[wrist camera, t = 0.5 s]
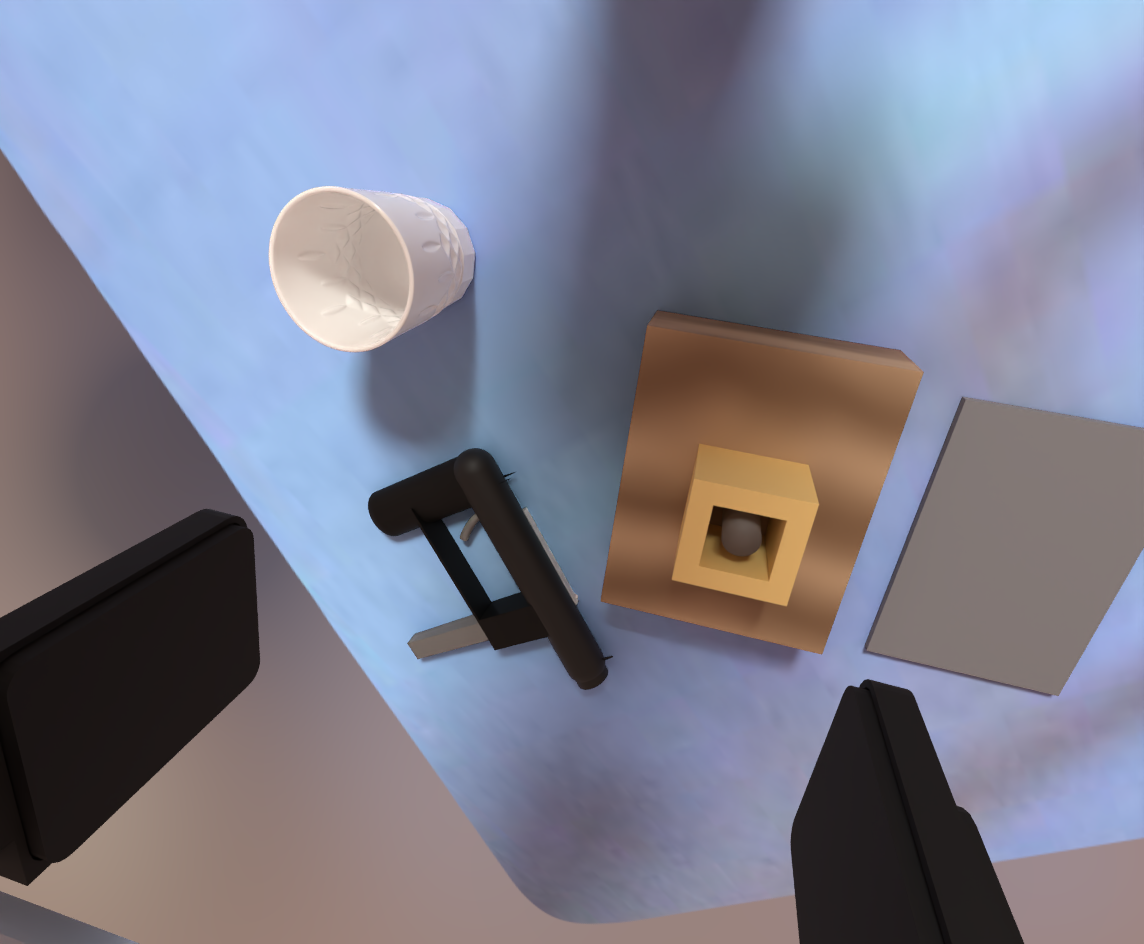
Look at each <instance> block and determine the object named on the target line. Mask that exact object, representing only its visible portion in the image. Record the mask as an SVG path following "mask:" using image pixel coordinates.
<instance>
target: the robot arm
mask: <svg viewBox="0 0 1144 944" xmlns="http://www.w3.org/2000/svg"><path fill="white" fill-rule="evenodd" d="M259 652H260V651H259V632H258V613H257V594H256V576H255V555H254V538H253V533H252V532H251V530H250V529H248V528H247V525H246V523H245V521H244V519H242V518H241V517H238V516H234V515H231V514H226V513H223V512H219V511H215V510H211V509H203V510H200V511H198V512H196V513H194V514H192V515H191V516H189V517H187V518H185V519H183V520H181V521H179V522H177V523H176V524H174V525H172V526H170V527H168V528H166V529H164V530H163V531H161V532H159V533H157V534H155V535H153V536H151V537H150V538H148V539H146V540H144V541H142V542H141V543H138V544H137V545H135V546H133V547H131V548H129V549H128V550H125V551H124V552H122V553H120V554H118V555H116V556H114V557H112V558H111V559H109V560H107V561H105V562H103V563H101V564H99V565H98V566H96V567H94V568H92V569H90V570H88V571H86V572H85V573H83V574H81V575H79V576H77V577H75V578H73V579H72V580H70V581H68V582H66V583H64V584H62V585H60V586H59V587H57V588H55V589H53V590H52V591H49V592H47V593H46V594H44V595H42V596H40V597H38V598H36V599H34V600H33V601H31V602H29V603H27V604H25V605H23V606H22V607H20V608H18V609H16V610H14V611H12V612H10V613H8V614H7V615H5V616H3V617H1V618H0V876H3V877H6V878H8V879H10V880H13V881H16V882H18V883H21V884H24V885H26V886H28V885H29V884H30V883H31V882H32V881H33V880H34V879H35V878H37V877H38V876H39V875H40V874H41V873H42V872H43V871H44V870H45V869H46V868H47V867H48V866H49V865H50V864H51V863H56V862H60V861H62V860H64V859H65V858H67V857H68V856H69V855H71V854H72V853H73V852H74V851H75V850H76V849H78V847H80V846H81V845H82V844H83V843H84V842H85V841H86V840H87V839H88V838H89V837H90V836H91V835H92V834H93V833H94V832H95V831H96V830H97V829H98V828H100V826H102V825H103V824H104V823H105V822H106V821H107V820H108V819H109V818H110V817H111V816H112V815H113V814H114V813H115V812H116V811H117V810H118V809H119V808H120V807H121V806H123V805H124V804H125V803H126V802H127V801H128V800H129V799H130V798H131V797H132V796H133V795H134V794H135V793H136V792H137V791H138V790H139V789H140V788H141V787H142V786H144V785H145V784H146V783H147V782H148V781H149V780H150V779H151V778H152V777H153V776H154V775H155V774H156V773H157V772H158V771H159V770H160V769H161V768H162V767H163V766H164V765H166V763H167V762H169V761H170V760H171V759H172V758H173V757H174V756H175V755H176V754H177V753H178V752H179V751H180V750H181V749H182V748H183V747H184V746H185V745H186V744H187V743H188V742H190V741H191V740H192V739H193V738H194V737H195V736H196V735H197V734H198V733H199V732H200V731H201V730H202V729H203V728H204V727H205V726H206V725H207V724H209V723H210V721H212V720H213V718H215V717H216V716H217V715H218V714H219V713H220V712H221V711H222V710H223V709H224V708H225V707H226V706H227V705H228V704H229V703H230V702H232V701H233V700H234V699H235V698H236V697H237V696H238V695H239V694H240V693H241V692H242V691H243V690H244V689H245V688H246V687H247V686H248V685H249V684H250V683H251V682H252V681H253V679H254V678H255V676H256V674H257V672H258V669H259V665H260V653H259ZM791 856H792V866H793V877H794V888H795V898H796V908H797V919H798V928H799V929H798V930H799V939H800V944H1024V942H1023V939H1022V937H1021V935H1020V932H1019V930H1018V927H1017V925H1016V922H1015V920H1014V918H1013V915H1012V912H1011V910H1010V907H1009V905H1008V903H1007V900H1006V898H1005V895H1004V893H1003V891H1002V888H1001V885H1000V883H999V880H998V878H997V875H996V873H995V871H994V868H993V866H992V863H991V861H990V858H989V856H988V853H987V851H986V848H985V846H984V843H983V841H982V838H981V836H980V834H979V831H978V829H977V826H976V824H975V822H974V821H973V819H972V817H971V815H970V814H969V813H968V812H967V811H966V810H965V809H964V808H962V807H959V806H956V803H955V801H954V798H953V796H952V793H951V790H950V788H949V785H948V783H947V780H946V777H945V775H944V772H943V770H942V767H941V765H940V762H939V759H938V757H937V754H936V752H935V749H934V746H933V744H932V741H931V739H930V736H929V733H928V731H927V728H926V726H925V723H924V720H923V718H922V715H921V713H920V710H919V708H918V705H917V702H916V700H915V697H914V695H913V694H912V692H911V691H909V690H908V689H904V688H900V687H896V686H892V685H888V684H884V683H881V682H877V681H873V680H869V679H867V680H864V681H863V682H862V683H861V685H860V687H859V688H858V687H854V686H848V687H847V688H846V690H845V692H844V694H843V696H842V699H841V701H840V704H839V706H838V709H837V711H836V714H835V717H834V719H833V722H832V724H831V727H830V729H829V732H828V734H827V737H826V740H825V742H824V745H823V747H822V750H821V752H820V755H819V757H818V760H817V762H816V765H815V768H814V770H813V773H812V775H811V778H810V780H809V783H808V785H807V788H806V791H805V793H804V796H803V798H802V801H801V803H800V806H799V808H798V811H797V813H796V816H795V819H794V822H793V826H792V832H791ZM0 944H139V943H136V942H134V941H131V940H128V939H126V938H123V937H120V936H118V935H115V934H112V933H110V932H107V931H105V930H102V929H99V928H97V927H94V926H91V925H89V924H86V923H83V922H81V921H78V920H75V919H72V918H70V917H67V916H65V915H62V914H59V913H57V912H54V911H51V910H49V909H46V908H44V907H41V906H38V905H36V904H33V903H30V902H28V901H25V900H22V899H20V898H17V897H14V896H11V895H9V894H6V893H4V892H1V891H0Z"/></svg>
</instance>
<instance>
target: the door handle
mask: <svg viewBox="0 0 1144 944" xmlns="http://www.w3.org/2000/svg"><path fill="white" fill-rule="evenodd" d="M514 473H515V472H514ZM511 474H513V473H511ZM511 474H507V475H504V476H503V474H502V472H501V471H500V469H499V467H498V465H497V463H496V462H495V460H494V458H493V457H492V456H491V455H490V454H489V453H488V452H486V451H485V450H482V449H477V448H473V449H468V450H466V451H464V452H462V453H461V454H460V455H459V456H458V457H456V458H454V459H451V460H449V461H447V462H444V463H442V464H439V465H437V466H435V467H432V468H430V469H428V470H425V471H423V472H421V473H418V474H416V475H414V476H411V477H409V478H407V479H404V480H402V481H400V482H397V483H395V484H393V485H390V486H388V487H386V488H383V489H381V490H379V491H376V492H374V493H373V494H372V495H371V496H370V498H369V501H368V510H369V514H370V517H371V519H372V521H373V522H374V524H375V525H376V526H377V527H378V529H380V530H381V531H382V532H383V533H385V534H387V535H390V536H398V535H401V534H403V533H406V532H409V531H411V530H414V529H417V528H419V527H420V528H421V530H422V532H423V533H424V535H425V536H426V538H427V540H428V541H429V543H430V545H431V546H432V548H433V550H434V551H435V553H436V554H437V556H438V558H439V559H440V561H441V563H442V564H443V566H444V568H445V569H446V571H447V572H448V574H449V576H450V577H451V579H452V581H453V582H454V584H455V586H456V587H457V589H458V590H459V592H460V594H461V595H462V597H463V599H464V600H465V602H466V604H467V605H468V607H469V608H470V610H471V612H472V613H473V615H471V616H468V617H464V618H461V619H458V620H455V621H452V622H449V623H446V624H443V625H440V626H437V627H434V628H431V629H428V630H425V631H422V632H419V633H416V634H414V636H413V637H412V638H411V639H410V641H409V642H408V643H407V644H408V645H409V647H410V648H411V650H412V651H413V653H414V654H415V656H416V657H417V659H420V658H424V657H428V656H432V655H435V654H439V653H443V652H447V651H450V650H454V649H458V648H462V647H465V646H469V645H473V644H477V643H480V642H484V641H488V640H489V641H490V643H491V645H492V646H493V648H494V650H498V649H502V648H506V647H510V646H513V645H517V644H521V643H525V642H529V641H533V640H537V639H541V638H545V637H548V639H549V641H550V643H551V644H552V646H553V648H554V650H555V651H556V653H557V655H558V656H559V658H560V660H561V662H562V663H563V665H564V667H565V668H566V670H567V672H568V674H569V675H570V676H571V678H572V679H574V680H575V681H576V682H577V684H578V686H579V687H580V688H581V689H584V690H588V689H592V688H594V687H596V686H598V685H599V684H601V683H602V682H603V681H604V680H605V679H606V677H607V675H608V669H607V668H606V666H605V660H607V659H610V658H612V657H613V656H609V657H605V658H604V655H603V653H602V651H601V650H600V648H599V646H598V644H597V642H596V641H595V639H594V637H593V635H592V634H591V632H590V630H589V628H588V626H587V625H586V623H585V621H584V619H583V617H582V616H581V614H580V612H579V610H578V608H577V607H576V605H577V604H578V595H577V594H575V593H574V592H573V590H572V588H571V586H570V584H569V583H568V581H567V579H566V577H565V575H564V574H563V572H562V570H561V568H560V566H559V565H558V563H557V561H556V559H555V557H554V556H553V554H552V552H551V550H550V549H549V547H548V545H547V543H546V541H545V540H544V538H543V536H542V534H541V532H540V531H539V529H538V527H537V525H536V523H535V522H534V520H533V518H532V516H531V514H530V513H529V511H528V509H527V507H526V508H523V509H522V508H521V506H520V505H519V503H518V501H517V499H516V497H515V496H514V494H513V492H512V490H511V489H510V487H509V485H508V483H507V480H509V479H507V480H505V478H504V477H507V476H509V475H511ZM469 508H472V509H473V510H474V512H475V514H474V515H473V516H472V517H471V518H470V519H469V520H468V522H467V523H466V525H465V526H464V528H463V530H462V532H461V535H460V539H461V540H463V541H468V539H469V537H470V534H471V532H472V530H473V528H474V527H475V525H476V524H477V523H478V521H480V522H481V524H482V526H483V527H484V529H485V531H486V533H487V534H488V536H489V538H490V539H491V541H492V543H493V545H494V546H495V548H496V550H497V552H498V553H499V555H500V557H501V558H502V560H503V562H504V564H505V565H506V567H507V569H508V570H509V572H510V574H511V576H512V577H513V579H514V581H515V582H516V584H517V586H518V588H519V589H520V591H521V592H520V593H517V594H514V595H511V596H508V597H504V598H501V599H498V600H495V601H492V602H491V601H490V599H489V597H488V596H487V594H486V592H485V591H484V589H483V587H482V586H481V584H480V582H479V581H478V579H477V577H476V576H475V574H474V572H473V570H472V569H471V567H470V565H469V564H468V562H467V560H466V559H465V557H464V555H463V554H462V552H461V550H460V549H459V547H458V545H457V544H456V542H455V540H454V539H453V537H452V535H451V534H450V532H449V530H448V529H447V527H446V525H445V524H444V522H443V520H442V519H443V518H445V517H448V516H451V515H453V514H456V513H459V512H461V511H464V510H466V509H469Z"/></svg>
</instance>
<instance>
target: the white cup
mask: <svg viewBox="0 0 1144 944" xmlns="http://www.w3.org/2000/svg"><path fill="white" fill-rule="evenodd" d="M474 262H475V251H474V248H473V245H472V242H471V239H470V236H469V232H468V229H467V227H466V226H465V225H464V224H463V223H462V222H461V220H460V219H459V218H458V217H457V216H456V215H455V214H454V212H453V211H452V210H451V209H450V208H448V207H446V206H444V205H441V204H439V203H437V202H435V201H433V200H430V199H428V198H419V197H413V196H409V195H404V194H398V193H391V192H384V191H374V190H363V189H353V188H344V187H334V186H323V187H316V188H312V189H309V190H307V191H304V192H302V193H301V194H299V195H297V196H296V197H294V198H293V199H292V200H291V201H290V202H289V203H288V204H287V205H286V206H285V207H284V208H283V210H282V211H281V212H280V214H279V216H278V218H277V220H276V222H275V224H274V227H273V230H272V233H271V237H270V244H269V265H270V272H271V277H272V281H273V284H274V287H275V290H276V292H277V295H278V297H279V299H280V301H281V303H282V305H283V307H284V308H285V310H286V311H287V313H288V314H289V316H290V317H291V318H292V319H293V321H294V322H295V323H296V324H297V325H298V326H299V327H300V328H301V329H302V330H303V331H304V332H305V333H306V334H308V335H309V336H310V337H312V338H313V339H314V340H316V341H318V342H319V343H321V344H323V345H325V346H328V347H330V348H333V349H336V350H340V351H345V352H363V351H369V350H372V349H375V348H377V347H380V346H382V345H383V344H385V343H387V342H389V341H391V340H393V339H394V338H396V337H398V336H400V335H402V334H404V333H406V332H408V331H409V330H411V329H413V328H415V327H417V326H419V325H421V324H422V323H424V322H426V321H428V320H429V319H431V318H432V317H434V316H436V315H437V314H439V313H440V312H441V311H442V310H443V309H444V308H446V307H448V306H449V305H451V304H453V303H454V302H456V301H457V300H459V299H461V298H462V296H463V295H464V293H465V291H466V289H467V288H468V286H469V284H470V282H471V281H472V279H473V274H474Z"/></svg>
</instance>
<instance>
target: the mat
mask: <svg viewBox="0 0 1144 944" xmlns="http://www.w3.org/2000/svg"><path fill="white" fill-rule="evenodd" d="M1143 548H1144V428H1141V427H1135V426H1129V425H1123V424H1118V423H1112V422H1106V421H1100V420H1094V419H1089V418H1083V417H1077V416H1071V415H1065V414H1060V413H1054V412H1048V411H1042V410H1037V409H1031V408H1025V407H1019V406H1013V405H1008V404H1002V403H996V402H990V401H984V400H979V399H973V398H967V397H962V399H961V402H960V404H959V407H958V409H957V412H956V415H955V417H954V420H953V422H952V425H951V427H950V430H949V432H948V435H947V437H946V440H945V443H944V445H943V448H942V450H941V453H940V455H939V458H938V460H937V463H936V465H935V468H934V471H933V473H932V476H931V478H930V481H929V483H928V486H927V488H926V491H925V494H924V496H923V499H922V501H921V504H920V506H919V509H918V511H917V514H916V516H915V519H914V522H913V524H912V527H911V529H910V532H909V534H908V537H907V539H906V542H905V544H904V547H903V550H902V552H901V555H900V557H899V560H898V562H897V565H896V567H895V570H894V573H893V575H892V578H891V580H890V583H889V585H888V588H887V590H886V593H885V595H884V598H883V601H882V603H881V606H880V608H879V611H878V613H877V616H876V618H875V621H874V623H873V626H872V629H871V631H870V634H869V636H868V639H867V641H866V644H865V647H866V650H867V651H870V652H874V653H879V654H883V655H887V656H891V657H895V658H900V659H904V660H908V661H912V662H917V663H921V664H925V665H929V666H934V667H938V668H942V669H946V670H950V671H955V672H959V673H963V674H967V675H972V676H976V677H980V678H984V679H988V680H993V681H997V682H1001V683H1005V684H1010V685H1014V686H1018V687H1022V688H1027V689H1031V690H1035V691H1039V692H1043V693H1048V694H1052V695H1056V696H1059V694H1060V692H1061V690H1062V689H1063V687H1064V685H1065V684H1066V682H1067V680H1068V678H1069V677H1070V675H1071V673H1072V671H1073V670H1074V668H1075V666H1076V664H1077V663H1078V661H1079V659H1080V657H1081V656H1082V654H1083V652H1084V650H1085V649H1086V647H1087V645H1088V644H1089V642H1090V640H1091V638H1092V637H1093V635H1094V633H1095V631H1096V630H1097V628H1098V626H1099V624H1100V623H1101V621H1102V619H1103V617H1104V616H1105V614H1106V612H1107V611H1108V609H1109V607H1110V605H1111V604H1112V602H1113V600H1114V598H1115V597H1116V595H1117V593H1118V591H1119V590H1120V588H1121V586H1122V584H1123V583H1124V581H1125V579H1126V577H1127V576H1128V574H1129V572H1130V571H1131V569H1132V567H1133V565H1134V564H1135V562H1136V560H1137V558H1138V557H1139V555H1140V553H1141V551H1142V550H1143Z"/></svg>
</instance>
